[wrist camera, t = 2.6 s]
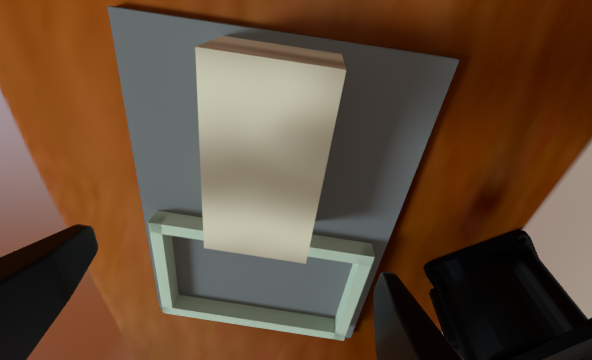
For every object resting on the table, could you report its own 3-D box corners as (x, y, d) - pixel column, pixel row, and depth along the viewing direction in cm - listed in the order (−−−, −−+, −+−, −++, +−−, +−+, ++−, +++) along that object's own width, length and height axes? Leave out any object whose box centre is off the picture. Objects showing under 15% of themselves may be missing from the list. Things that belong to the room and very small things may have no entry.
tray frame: (156, 210, 20) (147, 222, 19) (372, 243, 20) (374, 257, 19) (169, 299, 24) (163, 312, 23) (342, 326, 24) (343, 340, 23)
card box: (223, 35, 14) (195, 46, 11) (341, 53, 14) (346, 69, 11) (222, 208, 19) (203, 248, 16) (308, 222, 19) (305, 263, 16)
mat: (114, 6, 14) (107, 6, 14) (455, 58, 14) (459, 60, 14) (162, 303, 26) (160, 308, 25) (349, 332, 26) (350, 338, 25)
